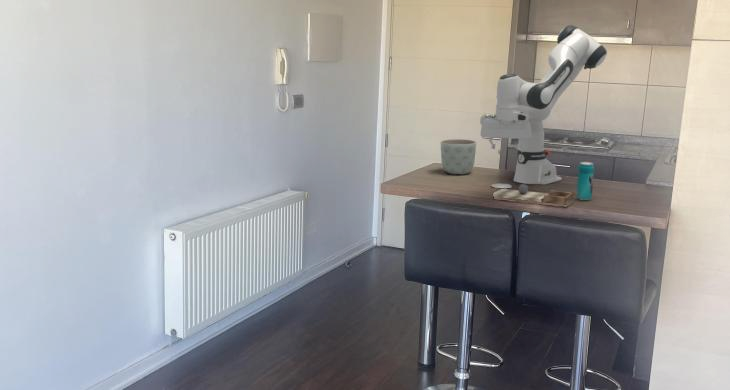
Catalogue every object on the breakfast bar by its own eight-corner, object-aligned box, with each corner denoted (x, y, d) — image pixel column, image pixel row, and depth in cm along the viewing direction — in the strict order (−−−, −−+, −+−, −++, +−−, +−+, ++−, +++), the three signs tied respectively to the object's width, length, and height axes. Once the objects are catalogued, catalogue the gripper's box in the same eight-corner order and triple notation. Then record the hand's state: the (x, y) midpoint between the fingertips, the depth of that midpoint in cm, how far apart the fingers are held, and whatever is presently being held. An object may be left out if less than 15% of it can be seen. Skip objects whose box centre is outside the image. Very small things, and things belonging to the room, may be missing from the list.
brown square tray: (541, 204, 283) (541, 195, 282) (548, 199, 291) (548, 190, 290) (566, 207, 278) (567, 197, 277) (573, 202, 286) (573, 192, 285)
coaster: (499, 183, 321) (499, 182, 321) (515, 187, 314) (515, 185, 314) (486, 186, 315) (486, 185, 315) (503, 190, 308) (503, 188, 308)
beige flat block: (492, 199, 292) (493, 193, 292) (501, 194, 301) (501, 188, 300) (541, 204, 283) (541, 198, 282) (548, 199, 291) (548, 193, 290)
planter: (466, 177, 334) (466, 145, 331) (433, 174, 343) (434, 142, 340) (481, 171, 348) (482, 140, 345) (449, 168, 357) (450, 138, 354)
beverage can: (589, 201, 287) (591, 164, 284) (575, 200, 290) (577, 163, 287) (593, 198, 292) (595, 162, 288) (579, 197, 295) (581, 161, 291)
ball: (523, 192, 293) (523, 182, 292) (530, 194, 290) (530, 184, 289) (515, 193, 291) (516, 183, 290) (522, 195, 288) (523, 185, 287)
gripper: (480, 115, 287) (478, 149, 290) (532, 116, 283) (530, 151, 286) (481, 113, 293) (479, 146, 296) (532, 114, 289) (530, 148, 292)
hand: (505, 149), depth 291 cm, fingers open, 8 cm apart
